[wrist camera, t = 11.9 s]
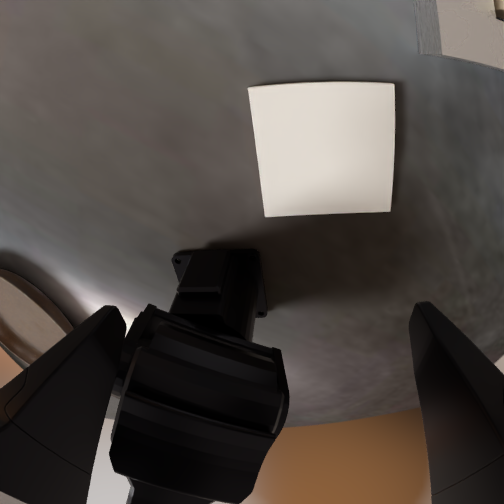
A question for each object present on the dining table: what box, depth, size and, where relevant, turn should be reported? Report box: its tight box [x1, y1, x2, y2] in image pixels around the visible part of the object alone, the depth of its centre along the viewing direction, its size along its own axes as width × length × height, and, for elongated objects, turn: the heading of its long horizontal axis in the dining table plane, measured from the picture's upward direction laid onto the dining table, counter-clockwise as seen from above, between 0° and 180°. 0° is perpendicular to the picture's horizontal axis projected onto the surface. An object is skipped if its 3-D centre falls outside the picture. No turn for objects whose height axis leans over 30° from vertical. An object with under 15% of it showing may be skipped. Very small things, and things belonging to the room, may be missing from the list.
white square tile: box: [248, 81, 395, 217], centre depth 17 cm, size 8×8×1 cm
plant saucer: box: [0, 269, 74, 365], centre depth 30 cm, size 21×21×3 cm
